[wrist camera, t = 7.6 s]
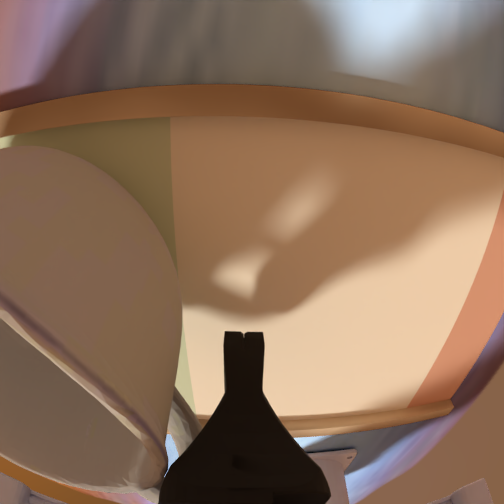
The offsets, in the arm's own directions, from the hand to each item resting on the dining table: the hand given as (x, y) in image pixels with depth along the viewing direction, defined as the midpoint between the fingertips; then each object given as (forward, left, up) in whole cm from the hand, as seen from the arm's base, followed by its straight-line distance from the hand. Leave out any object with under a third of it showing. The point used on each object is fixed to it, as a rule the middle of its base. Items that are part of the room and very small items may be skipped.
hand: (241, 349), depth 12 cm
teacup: (+2, +6, -2) cm, 7 cm away
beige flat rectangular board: (0, +1, -2) cm, 2 cm away
